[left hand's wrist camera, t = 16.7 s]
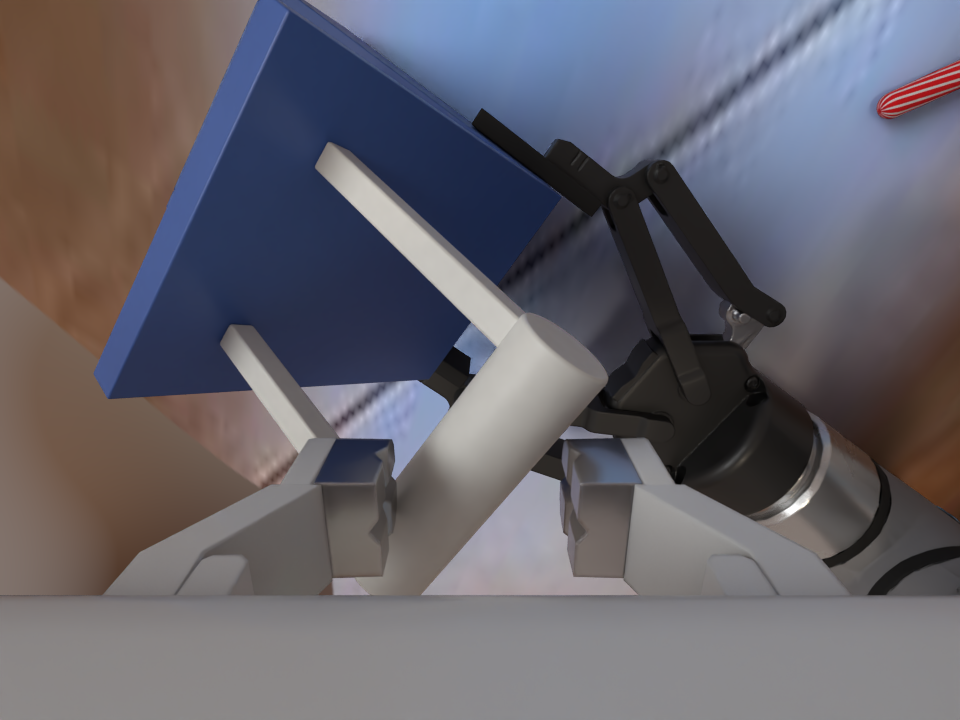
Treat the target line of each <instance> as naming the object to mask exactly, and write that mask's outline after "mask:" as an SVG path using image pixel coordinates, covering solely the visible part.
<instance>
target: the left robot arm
mask: <svg viewBox="0 0 960 720" xmlns="http://www.w3.org/2000/svg"><path fill="white" fill-rule="evenodd" d="M394 463H395V454H394V444H393V441H392V439H350V438H339V439H338V438H312V439H308V440H307V442H306V443H305V445H304V447H303V448H302V450H301V451H300V453H299V455H298V456H297V458H296V459H295V461H294V463H293V464H292V466H291V467H290V469H289V471H288V472H287V474H286V476H285V477H284V479H283V480H282V482H281V484H273V485H270V486H268V487H266V488H264V489H262V490H260V491H258V492H256V493H254V494H252V495H250V496H248V497H246V498H244V499H242V500H241V501H239V502H237V503H235V504H233V505H231V506H229V507H227V508H225V509H223V510H221V511H219V512H217V513H215V514H213V515H211V516H209V517H208V518H206V519H204V520H202V521H200V522H198V523H196V524H194V525H192V526H190V527H188V528H186V529H184V530H182V531H180V532H178V533H176V534H175V535H173V536H171V537H169V538H167V539H165V540H163V541H161V542H159V543H157V544H155V545H153V546H151V547H149V548H147V549H145V550H143V551H142V552H140V553H139V554H138V555H137V556H136V557H135V558H134V560H133V561H132V562H131V563H130V564H129V565H128V566H127V568H126V569H125V570H124V571H123V572H122V573H121V574H120V576H119V577H118V578H117V579H116V580H115V581H114V583H113V584H112V585H111V586H110V587H109V588H108V589H107V591H106V592H105V593H104V594H103V595H0V720H960V595H851V593H850V592H849V591H848V590H847V589H846V588H845V586H844V585H843V584H842V583H841V582H840V581H839V579H838V578H837V577H836V576H835V575H834V573H833V572H832V571H831V570H830V569H829V568H828V566H827V565H826V564H825V563H824V562H823V561H822V559H821V558H820V557H819V556H818V555H817V553H815V552H813V551H811V550H809V549H807V548H805V547H803V546H801V545H800V544H798V543H796V542H794V541H792V540H790V539H788V538H786V537H784V536H782V535H780V534H778V533H777V532H775V531H773V530H771V529H769V528H767V527H765V526H763V525H761V524H759V523H757V522H755V521H753V520H752V519H750V518H748V517H746V516H744V515H742V514H740V513H738V512H736V511H734V510H732V509H730V508H729V507H727V506H725V505H723V504H721V503H719V502H717V501H715V500H713V499H711V498H709V497H707V496H705V495H704V494H702V493H700V492H698V491H696V490H694V489H692V488H690V487H688V486H686V485H683V484H675V482H674V480H673V479H672V477H671V476H670V474H669V472H668V471H667V469H666V467H665V466H664V464H663V463H662V461H661V459H660V458H659V456H658V455H657V453H656V451H655V450H654V448H653V446H652V445H651V443H650V442H649V440H648V439H646V438H624V439H620V438H603V439H566V440H564V443H563V449H562V465H563V468H564V472H565V477H564V478H563V479H562V481H561V482H560V515H561V523H562V528H563V533H565V534H566V535H567V536H568V546H567V551H568V555H569V559H570V563H571V568H572V572H573V576H574V577H604V578H624V581H625V582H626V583H627V584H628V585H629V586H630V587H631V588H632V589H633V590H634V591H635V592H636V593H637V594H638V595H318V594H319V593H320V592H321V591H322V590H323V589H324V588H325V587H326V586H327V585H328V584H330V583H331V582H332V578H351V577H383V573H384V569H385V565H386V561H387V557H388V553H389V538H388V536H390V535H391V534H392V533H393V531H394V526H395V521H396V511H397V483H396V481H395V480H394V479H393V477H392V476H391V475H392V471H393V467H394Z"/></svg>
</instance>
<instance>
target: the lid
mask: <svg viewBox="0 0 960 720" xmlns="http://www.w3.org/2000/svg"><path fill="white" fill-rule="evenodd" d="M560 199H561V196H560V195H559V194H558V193H556V192H555V191H554V190H552V189H551V188H550V187H549V186H547V185H546V184H545V183H543V182H542V181H540V180H539V179H537V178H536V177H534V176H533V175H532V174H530V173H529V172H527V171H526V170H524V169H523V168H521V167H520V166H519V165H517V164H516V163H514V162H513V161H511V160H510V159H508V158H507V157H505V156H504V155H503V154H501V153H500V152H498V151H497V150H495V149H494V148H492V147H491V146H490V145H488V144H487V143H485V142H484V141H482V140H481V139H479V138H478V137H477V136H475V135H474V134H472V133H471V132H469V131H468V130H466V129H465V128H464V127H462V126H461V125H459V124H458V123H456V122H455V121H453V120H452V119H451V118H449V117H448V116H446V115H445V114H443V113H442V112H440V111H439V110H438V109H436V108H435V107H433V106H432V105H430V104H429V103H427V102H426V101H425V100H423V99H422V98H420V97H419V96H417V95H416V94H414V93H413V92H412V91H410V90H409V89H407V88H406V87H404V86H403V85H401V84H400V83H399V82H397V81H396V80H394V79H393V78H391V77H390V76H388V75H387V74H386V73H384V72H383V71H381V70H380V69H378V68H377V67H375V66H374V65H373V64H371V63H370V62H368V61H367V60H365V59H364V58H362V57H361V56H360V55H358V54H357V53H355V52H354V51H352V50H351V49H349V48H348V47H347V46H345V45H344V44H342V43H341V42H339V41H338V40H336V39H335V38H334V37H332V36H331V35H329V34H328V33H326V32H325V31H323V30H322V29H321V28H319V27H318V26H316V25H315V24H313V23H312V22H310V21H309V20H308V19H306V18H305V17H303V16H302V15H300V14H299V13H297V12H296V11H295V10H293V9H292V8H290V7H289V6H287V5H286V4H284V3H283V2H282V1H280V0H259V2H258V5H257V7H256V9H255V11H254V14H253V16H252V18H251V20H250V23H249V25H248V27H247V29H246V32H245V34H244V36H243V38H242V41H241V43H240V45H239V47H238V50H237V52H236V54H235V56H234V59H233V61H232V63H231V65H230V68H229V70H228V72H227V74H226V77H225V79H224V81H223V83H222V86H221V88H220V90H219V92H218V95H217V97H216V99H215V101H214V104H213V106H212V108H211V110H210V113H209V115H208V117H207V119H206V122H205V124H204V126H203V128H202V131H201V133H200V135H199V137H198V140H197V142H196V144H195V146H194V148H193V151H192V153H191V155H190V157H189V160H188V162H187V164H186V166H185V169H184V171H183V173H182V175H181V178H180V180H179V182H178V184H177V187H176V189H175V191H174V193H173V196H172V198H171V200H170V202H169V205H168V207H167V209H166V211H165V214H164V216H163V218H162V220H161V223H160V225H159V227H158V229H157V232H156V234H155V236H154V238H153V241H152V243H151V245H150V247H149V250H148V252H147V254H146V256H145V259H144V261H143V263H142V265H141V268H140V270H139V272H138V274H137V277H136V279H135V281H134V283H133V286H132V288H131V290H130V292H129V295H128V297H127V299H126V301H125V304H124V306H123V308H122V310H121V313H120V315H119V317H118V319H117V322H116V324H115V326H114V328H113V331H112V333H111V335H110V337H109V340H108V342H107V344H106V346H105V349H104V351H103V353H102V355H101V358H100V360H99V362H98V364H97V367H96V369H95V371H94V376H95V377H96V379H97V381H98V383H99V384H100V386H101V388H102V390H103V391H104V393H105V395H106V397H107V398H108V399H117V398H133V397H150V396H166V395H182V394H198V393H215V392H231V391H247V390H253V391H254V392H255V394H256V395H257V397H258V398H259V399H260V401H261V402H262V403H263V405H264V406H265V408H266V409H267V410H268V412H269V413H270V415H271V416H272V417H273V419H274V420H275V421H276V423H277V424H278V426H279V427H280V428H281V430H282V431H283V432H284V434H285V435H286V437H287V438H288V439H289V441H290V442H291V444H292V445H293V446H294V448H295V449H296V450H297V452H298V453H300V451H301V450H302V448H303V447H304V445H305V443H306V442H307V440H308V439H312V438H338V439H339V436H338V435H337V434H336V433H335V431H334V430H333V429H332V427H331V426H330V425H329V423H328V422H327V421H326V420H325V418H324V417H323V416H322V414H321V413H320V412H319V411H318V409H317V408H316V407H315V405H314V404H313V403H312V402H311V400H310V399H309V398H308V396H307V395H306V394H305V393H304V391H303V390H302V389H301V387H312V386H328V385H344V384H361V383H377V382H393V381H409V380H426V379H430V377H431V376H432V374H433V373H434V372H435V370H436V369H437V368H438V366H439V365H440V363H441V362H442V361H443V359H444V358H445V357H446V355H447V354H448V352H449V351H450V350H451V348H452V347H453V346H454V344H455V343H456V342H457V340H458V339H459V337H460V336H461V335H462V333H463V332H464V331H465V329H466V328H467V326H468V325H469V324H470V322H472V323H473V324H474V325H475V326H476V327H477V328H478V329H479V330H480V331H481V332H482V333H483V334H484V335H485V336H486V337H487V338H488V339H489V340H490V341H491V342H492V343H493V344H494V345H495V346H496V347H497V348H496V349H495V351H494V352H493V353H492V354H491V356H490V357H489V358H488V360H487V361H486V362H485V364H484V365H483V366H482V368H481V369H480V370H479V371H478V373H477V374H476V375H475V377H474V378H473V379H472V381H471V382H470V383H469V385H468V386H467V387H466V388H465V390H464V391H463V392H462V394H461V395H460V396H459V398H458V399H457V400H456V402H455V403H454V404H453V405H452V407H451V408H450V409H449V411H448V412H447V413H446V415H445V416H444V417H443V419H442V420H441V421H440V422H439V424H438V425H437V426H436V428H435V429H434V430H433V432H432V433H431V434H430V436H429V437H428V438H427V439H426V441H425V442H424V443H423V445H422V446H421V447H420V449H419V450H418V451H417V453H416V454H415V455H414V456H413V458H412V459H411V460H410V462H409V463H408V464H407V466H406V467H405V468H404V470H403V471H402V472H401V473H400V475H399V476H398V477H397V479H396V480H395V481H396V483H397V511H396V521H395V526H394V531H393V533H392V534H391V535H390V536H388V538H389V553H388V557H387V561H386V565H385V569H384V573H383V577H354V578H355V579H356V581H357V582H358V583H359V585H360V586H361V587H362V588H363V589H364V590H365V591H366V592H368V593H369V594H370V595H421V594H422V593H423V592H424V591H425V589H426V588H427V587H428V586H429V585H430V584H431V583H432V582H433V580H434V579H435V578H436V577H437V576H438V575H439V574H440V572H441V571H442V570H443V569H444V568H445V567H446V566H447V564H448V563H449V562H450V561H451V560H452V559H453V558H454V557H455V555H456V554H457V553H458V552H459V551H460V550H461V549H462V547H463V546H464V545H465V544H466V543H467V542H468V541H469V539H470V538H471V537H472V536H473V535H474V534H475V533H476V532H477V530H478V529H479V528H480V527H481V526H482V525H483V524H484V522H485V521H486V520H487V519H488V518H489V517H490V516H491V514H492V513H493V512H494V511H495V510H496V509H497V508H498V507H499V505H500V504H501V503H502V502H503V501H504V500H505V499H506V497H507V496H508V495H509V494H510V493H511V492H512V491H513V489H514V488H515V487H516V486H517V485H518V484H519V483H520V482H521V480H522V479H523V478H524V477H525V476H526V475H527V474H528V472H529V471H530V470H531V469H532V468H533V467H534V466H535V465H536V463H537V462H538V461H539V460H540V459H541V458H542V457H543V455H544V454H545V453H546V452H547V451H548V450H549V449H550V447H551V446H552V445H553V444H554V443H555V442H556V441H557V440H558V438H559V437H560V436H561V435H562V434H563V433H564V432H565V430H566V429H567V428H568V427H569V426H570V425H571V424H572V422H573V421H574V420H575V419H576V418H577V417H578V416H579V415H580V413H581V412H582V411H583V410H584V409H585V408H586V407H587V405H588V404H589V403H590V402H591V401H592V400H593V399H594V397H595V396H596V395H597V394H598V393H599V392H600V391H601V390H602V388H603V387H604V386H605V385H606V384H607V382H608V375H607V372H606V371H605V369H604V367H603V366H602V364H601V363H600V362H599V361H598V359H597V358H596V357H595V356H594V355H593V354H592V353H591V352H590V351H589V350H588V349H587V348H586V347H585V346H584V345H582V344H581V343H580V342H579V341H578V340H577V339H575V338H574V337H573V336H572V335H570V334H569V333H568V332H566V331H565V330H564V329H562V328H561V327H559V326H558V325H556V324H555V323H553V322H551V321H549V320H548V319H546V318H544V317H542V316H539V315H536V314H533V313H525V312H524V311H523V310H522V309H521V308H520V307H519V306H518V305H517V304H515V303H514V302H513V301H512V300H511V299H510V298H509V297H508V296H507V295H506V294H505V293H504V292H502V291H501V290H500V289H499V288H498V287H497V285H498V284H499V282H500V281H501V280H502V278H503V277H504V276H505V274H506V273H507V271H508V270H509V269H510V267H511V266H512V265H513V263H514V262H515V260H516V259H517V258H518V256H519V255H520V254H521V252H522V251H523V250H524V248H525V247H526V245H527V244H528V243H529V241H530V240H531V239H532V237H533V236H534V234H535V233H536V232H537V230H538V229H539V228H540V226H541V225H542V223H543V222H544V221H545V219H546V218H547V217H548V215H549V214H550V212H551V211H552V210H553V208H554V207H555V206H556V204H557V203H558V201H559V200H560Z"/></svg>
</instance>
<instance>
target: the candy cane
mask: <svg viewBox="0 0 960 720" xmlns="http://www.w3.org/2000/svg"><path fill="white" fill-rule="evenodd" d="M958 89H960V60H958V61H956V62H954V63H952V64H950V65H947V66H945V67H943V68H941V69H939V70H937V71H934V72H932V73H930V74H928V75H926V76H924V77H921V78H919V79H917V80H915V81H913V82H911V83H909V84H906V85H904V86H902V87H900V88H898V89H896V90H894V91H891V92H889V93H887V94H885V95H884V96H883V97H882V98H881V99H880V100H879V102H878V104H877V113H878V115H879V116H880V117H882V118H884V119H893V118H896V117H898V116H900V115H902V114H905V113H907V112H909V111H912V110H914V109H916V108H918V107H920V106H922V105H925V104H927V103H929V102H931V101H934V100H936V99H938V98H940V97H942V96H945V95H947V94H949V93H951V92H953V91H955V90H958Z"/></svg>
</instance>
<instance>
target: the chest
mask: <svg viewBox="0 0 960 720" xmlns="http://www.w3.org/2000/svg"><path fill="white" fill-rule="evenodd" d="M280 1H282V2H283V3H284V4H286V5H287V6H289V7H290V8H292V9H293V10H295V11H296V12H297V13H299V14H300V15H302V16H303V17H305V18H306V19H308V20H309V21H310V22H312V23H313V24H315V25H316V26H318V27H319V28H321V29H322V30H323V31H325V32H326V33H328V34H329V35H331V36H332V37H334V38H335V39H336V40H338V41H339V42H341V43H342V44H344V45H345V46H347V47H348V48H349V49H351V50H352V51H354V52H355V53H357V54H358V55H360V56H361V57H362V58H364V59H365V60H367V61H368V62H370V63H371V64H373V65H374V66H375V67H377V68H378V69H380V70H381V71H383V72H384V73H386V74H387V75H388V76H390V77H391V78H393V79H394V80H396V81H397V82H399V83H400V84H401V85H403V86H404V87H406V88H407V89H409V90H410V91H412V92H413V93H414V94H416V95H417V96H419V97H420V98H422V99H423V100H425V101H426V102H427V103H429V104H430V105H432V106H433V107H435V108H436V109H438V110H439V111H440V112H442V113H443V114H445V115H446V116H448V117H449V118H451V119H452V120H453V121H455V122H456V123H458V124H459V125H461V126H462V127H464V128H465V129H466V130H468V131H469V132H471V133H472V134H474V135H475V136H477V137H478V138H479V139H481V140H482V141H484V142H485V143H487V144H488V145H490V146H491V147H492V148H494V149H495V150H497V151H498V152H500V153H501V154H503V155H504V156H505V157H507V158H508V159H510V160H511V161H513V162H514V163H516V164H517V165H519V166H520V167H521V168H523V169H524V170H526V171H527V172H529V173H530V174H532V175H533V176H534V177H536V178H537V179H539V180H540V181H542V182H543V183H545V184H546V185H547V186H549V185H548V184H547V183H546V182H545V181H544V180H543V179H541V178H540V177H539V176H537V175H536V174H535V173H533V172H532V171H531V170H530V169H528V168H527V167H526V166H524V165H523V164H522V163H520V162H519V161H518V160H516V159H515V158H514V157H512V156H511V155H510V154H509V153H507V152H506V151H505V150H503V149H502V148H501V147H499V146H498V145H497V144H495V143H494V142H493V141H492V140H490V139H489V138H488V137H486V136H485V135H484V134H482V133H481V132H480V131H478V130H477V129H476V128H475V127H473V125H472V123H471V122H470V121H468V120H467V119H466V118H464V117H463V116H462V115H460V114H459V113H458V112H456V111H455V110H454V109H452V108H451V107H450V106H448V105H447V104H446V103H444V102H443V101H442V100H440V99H439V98H438V97H436V96H435V95H434V94H432V93H431V92H430V91H428V90H427V89H426V88H424V87H423V86H422V85H420V84H419V83H418V82H416V81H415V80H414V79H412V78H411V77H410V76H408V75H407V74H406V73H404V72H403V71H402V70H401V69H399V68H398V67H397V66H395V65H394V64H393V63H391V62H390V61H389V60H387V59H386V58H385V57H383V56H382V55H381V54H379V53H378V52H377V51H375V50H374V49H373V48H371V47H370V46H369V45H367V44H366V43H365V42H363V41H362V40H361V39H359V38H358V37H357V36H355V35H354V34H353V33H351V32H350V31H349V30H347V29H346V28H345V27H343V26H342V25H340V24H339V23H337V22H336V21H334V20H333V19H331V18H330V17H328V16H327V15H326V14H324V13H323V12H321V11H320V10H318V9H317V8H315V7H314V6H312V5H311V4H309V3H308V2H306V1H305V0H280ZM258 2H259V0H258V1H257V3H256V5H255V7H254V10H253V12H252V14H251V17H250V19H249V21H248V23H247V26H246V28H245V30H244V32H243V35H242V37H241V39H240V41H239V44H238V46H237V48H236V50H235V53H234V55H233V57H232V59H231V62H230V64H229V66H228V68H227V71H226V73H225V75H224V77H223V80H222V82H221V84H220V86H219V89H218V91H217V93H216V95H215V98H214V100H213V102H212V104H211V107H210V109H209V111H208V113H207V116H206V118H205V120H204V122H203V125H202V127H201V129H200V131H199V134H198V136H197V138H196V140H195V143H194V145H193V147H192V149H191V152H190V154H189V156H188V158H187V161H186V163H185V165H184V167H183V170H182V172H181V174H180V177H179V179H178V181H177V183H176V186H175V188H174V190H175V189H176V187H177V184H178V182H179V180H180V178H181V175H182V173H183V171H184V169H185V166H186V164H187V162H188V160H189V157H190V155H191V153H192V151H193V148H194V146H195V144H196V142H197V140H198V137H199V135H200V133H201V131H202V128H203V126H204V124H205V122H206V119H207V117H208V115H209V113H210V110H211V108H212V106H213V104H214V101H215V99H216V97H217V95H218V92H219V90H220V88H221V86H222V83H223V81H224V79H225V77H226V74H227V72H228V70H229V68H230V65H231V63H232V61H233V59H234V56H235V54H236V52H237V50H238V47H239V45H240V43H241V41H242V38H243V36H244V34H245V32H246V29H247V27H248V25H249V23H250V20H251V18H252V16H253V14H254V11H255V9H256V7H257V5H258ZM549 187H550V186H549ZM550 188H551V187H550ZM173 193H174V191H173ZM173 193H172V195H171V197H170V200H171V198H172V196H173ZM170 200H169V202H170ZM169 202H168V204H167V207H168V205H169Z"/></svg>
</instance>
